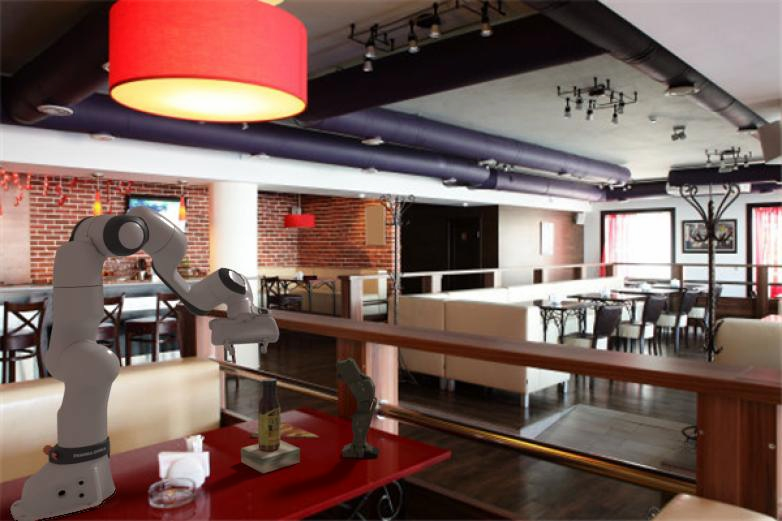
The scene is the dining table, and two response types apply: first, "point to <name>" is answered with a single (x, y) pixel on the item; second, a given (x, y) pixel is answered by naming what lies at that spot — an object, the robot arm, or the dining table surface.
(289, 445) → the grey flat block
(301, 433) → the pizza slice
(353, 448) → the mechanical leg
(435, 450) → the dining table surface
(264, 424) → the sauce bottle
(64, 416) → the robot arm
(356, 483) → the dining table surface
